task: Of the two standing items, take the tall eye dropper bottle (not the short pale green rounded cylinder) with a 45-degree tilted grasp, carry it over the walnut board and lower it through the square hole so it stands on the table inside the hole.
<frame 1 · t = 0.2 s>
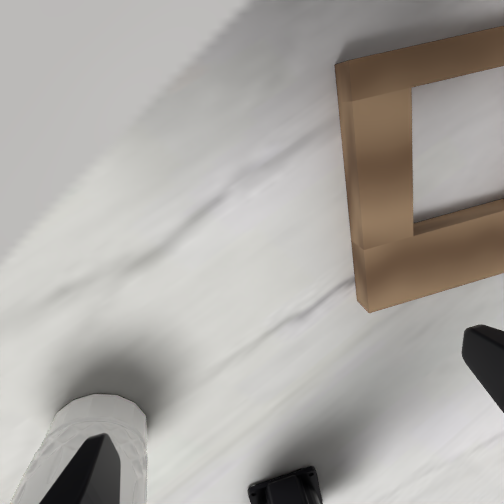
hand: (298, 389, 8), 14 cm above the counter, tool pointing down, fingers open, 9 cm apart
walnut board: (443, 174, 23), on the counter
white cup: (101, 425, 26), on the counter
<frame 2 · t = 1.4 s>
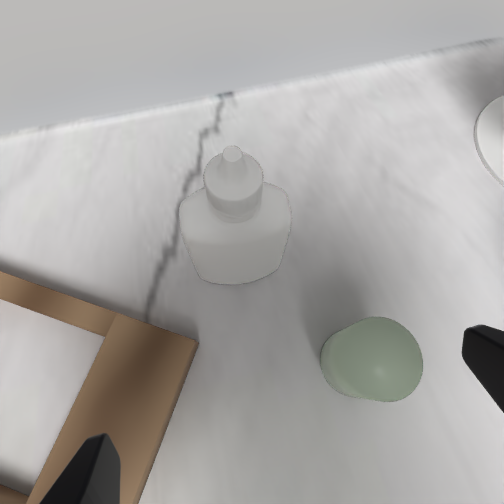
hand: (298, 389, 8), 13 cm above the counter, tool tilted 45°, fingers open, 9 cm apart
walnut board: (27, 414, 20), on the counter
eye dropper bottle: (238, 262, 24), on the counter
pale green rounded cylinder: (351, 362, 21), on the counter
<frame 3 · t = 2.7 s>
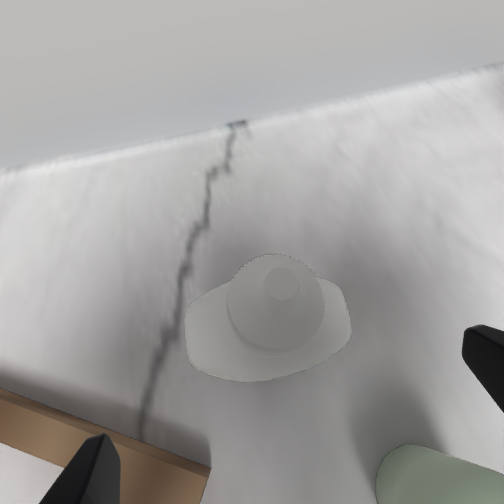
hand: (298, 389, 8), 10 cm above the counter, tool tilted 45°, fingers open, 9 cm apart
eye dropper bottle: (259, 346, 18), on the counter
pale green rounded cylinder: (418, 493, 16), on the counter
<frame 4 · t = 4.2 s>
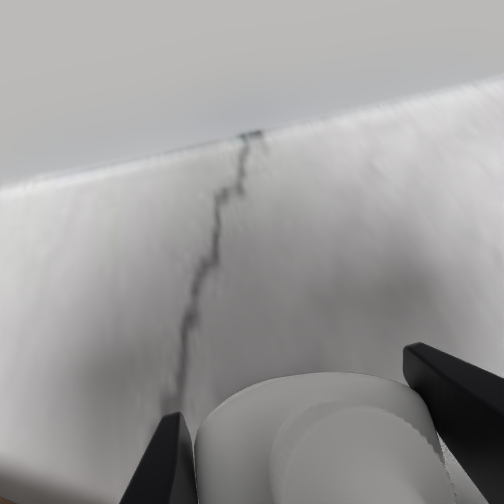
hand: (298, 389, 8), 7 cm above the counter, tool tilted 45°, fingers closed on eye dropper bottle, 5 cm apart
eye dropper bottle: (283, 420, 15), on the counter, touching gripper
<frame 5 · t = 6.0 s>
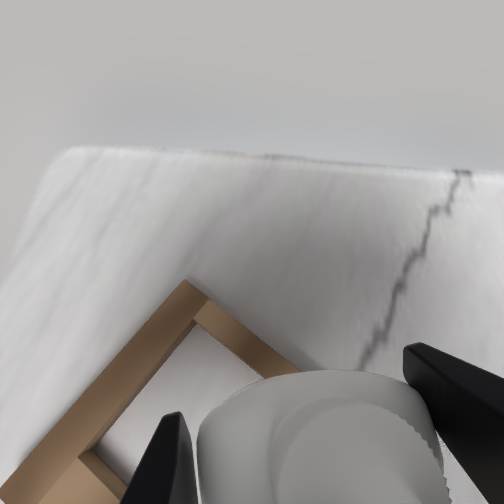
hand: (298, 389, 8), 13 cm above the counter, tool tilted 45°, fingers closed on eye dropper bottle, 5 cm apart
walnut board: (213, 468, 19), on the counter
eye dropper bottle: (286, 417, 15), point 6 cm above the counter, touching gripper
when the fingers open (8 cm above the counter, at t = 7.7 s): eye dropper bottle stays where it is, resting in walnut board.
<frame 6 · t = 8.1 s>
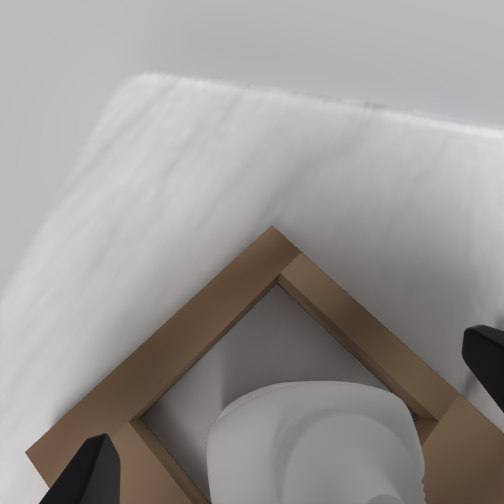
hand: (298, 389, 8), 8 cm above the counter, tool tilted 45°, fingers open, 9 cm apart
walnut board: (290, 461, 15), on the counter
eye dropper bottle: (283, 422, 16), resting in walnut board
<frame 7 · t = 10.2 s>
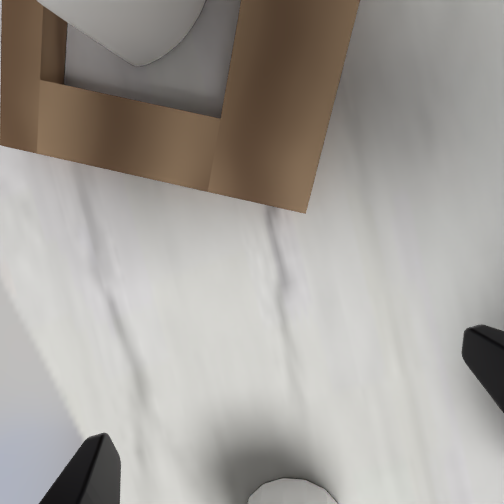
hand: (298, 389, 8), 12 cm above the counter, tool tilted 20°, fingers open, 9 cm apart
walnut board: (181, 37, 17), on the counter
eye dropper bottle: (162, 14, 17), resting in walnut board
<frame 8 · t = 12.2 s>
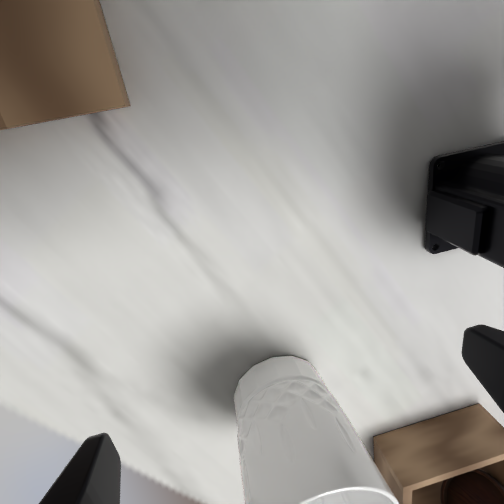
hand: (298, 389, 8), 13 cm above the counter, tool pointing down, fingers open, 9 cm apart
walnut watch frame: (424, 456, 33), on the counter
white cup: (276, 387, 26), on the counter
dark brown rounded piece: (417, 460, 33), resting in walnut watch frame
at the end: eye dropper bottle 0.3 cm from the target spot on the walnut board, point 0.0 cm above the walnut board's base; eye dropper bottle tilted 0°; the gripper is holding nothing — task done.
